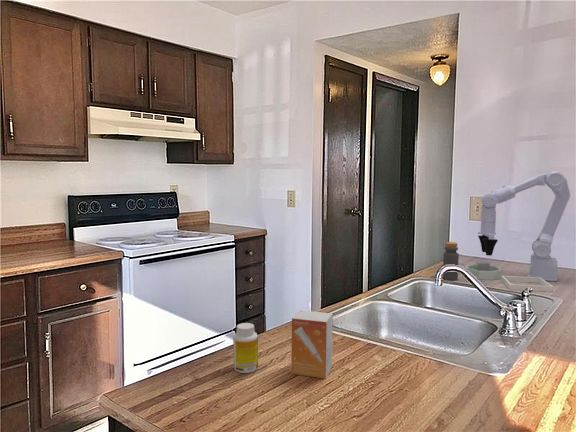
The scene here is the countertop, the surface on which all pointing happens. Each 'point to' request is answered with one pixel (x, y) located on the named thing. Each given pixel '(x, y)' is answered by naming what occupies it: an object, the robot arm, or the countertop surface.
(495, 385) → the countertop surface
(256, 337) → the supplement bottle
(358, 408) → the countertop surface
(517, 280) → the tray
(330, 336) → the small box
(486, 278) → the bowl
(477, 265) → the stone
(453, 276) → the bottle
